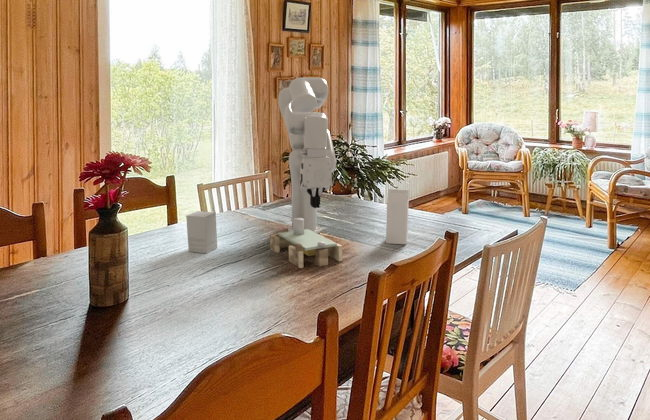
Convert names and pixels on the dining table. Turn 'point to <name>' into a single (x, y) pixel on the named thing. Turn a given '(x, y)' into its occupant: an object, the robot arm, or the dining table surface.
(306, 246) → the cover
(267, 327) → the dining table surface
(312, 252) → the yellow rectangular block
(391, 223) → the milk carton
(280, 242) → the beige notched ring
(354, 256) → the dining table surface
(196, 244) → the supplement box
